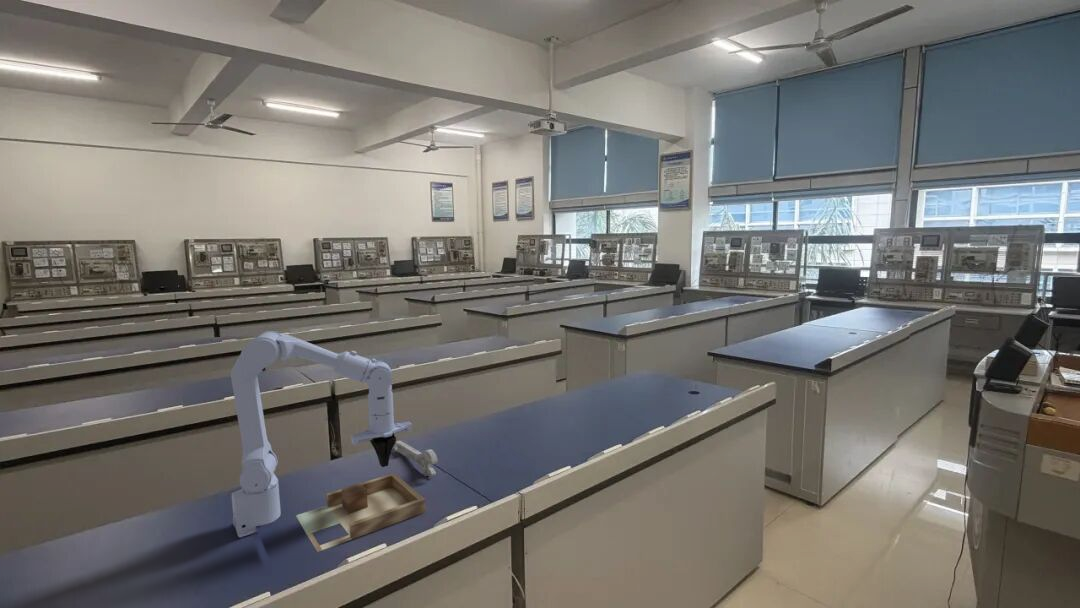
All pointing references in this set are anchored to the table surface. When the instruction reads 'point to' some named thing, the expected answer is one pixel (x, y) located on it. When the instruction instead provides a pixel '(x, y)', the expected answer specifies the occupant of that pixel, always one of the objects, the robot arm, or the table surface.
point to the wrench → (418, 457)
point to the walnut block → (354, 498)
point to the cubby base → (365, 510)
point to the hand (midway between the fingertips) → (383, 465)
